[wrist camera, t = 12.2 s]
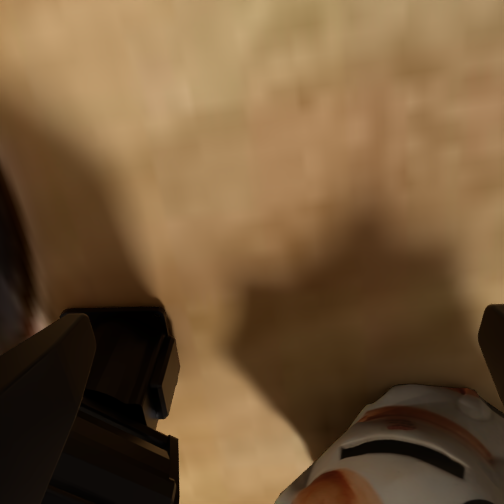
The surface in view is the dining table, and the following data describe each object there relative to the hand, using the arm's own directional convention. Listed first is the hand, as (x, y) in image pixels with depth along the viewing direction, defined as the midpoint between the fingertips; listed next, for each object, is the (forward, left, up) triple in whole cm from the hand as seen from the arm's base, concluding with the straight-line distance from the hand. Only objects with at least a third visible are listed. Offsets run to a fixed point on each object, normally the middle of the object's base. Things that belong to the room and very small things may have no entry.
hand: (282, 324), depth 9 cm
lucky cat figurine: (+8, -21, -13) cm, 26 cm away
